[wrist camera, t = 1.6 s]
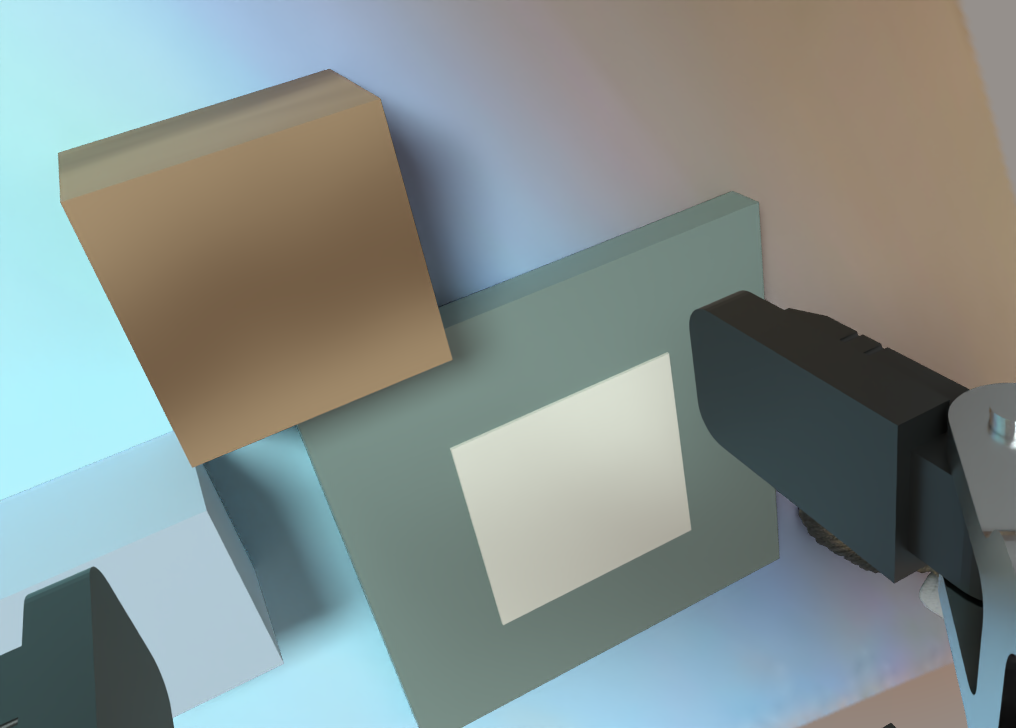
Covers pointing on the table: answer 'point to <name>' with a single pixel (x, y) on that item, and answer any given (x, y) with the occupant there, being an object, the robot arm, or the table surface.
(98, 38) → the table surface
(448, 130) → the table surface
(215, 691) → the blue-grey brick
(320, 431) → the board
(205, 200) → the walnut brick
